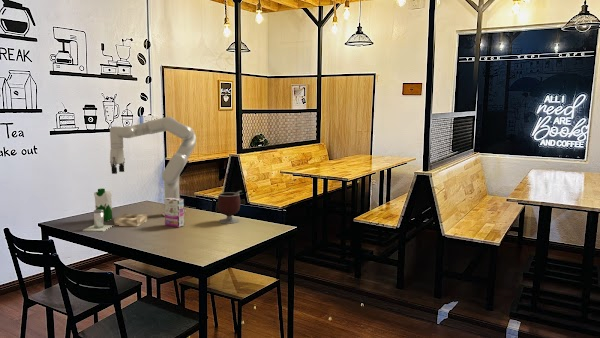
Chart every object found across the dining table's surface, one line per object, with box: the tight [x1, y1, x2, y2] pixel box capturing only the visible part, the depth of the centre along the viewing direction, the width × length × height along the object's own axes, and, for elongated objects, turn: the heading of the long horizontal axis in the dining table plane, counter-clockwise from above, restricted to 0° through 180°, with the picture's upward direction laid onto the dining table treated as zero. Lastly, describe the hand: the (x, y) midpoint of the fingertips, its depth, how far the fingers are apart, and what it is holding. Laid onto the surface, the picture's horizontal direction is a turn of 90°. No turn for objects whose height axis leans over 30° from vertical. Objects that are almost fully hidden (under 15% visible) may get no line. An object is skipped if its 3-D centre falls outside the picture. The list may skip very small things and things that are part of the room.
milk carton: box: [93, 187, 114, 222], centre depth 279 cm, size 9×9×20 cm
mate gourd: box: [217, 190, 242, 225], centre depth 278 cm, size 16×14×20 cm
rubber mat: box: [82, 224, 115, 232], centre depth 259 cm, size 12×12×1 cm
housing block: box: [113, 213, 148, 227], centre depth 272 cm, size 14×14×4 cm
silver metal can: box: [93, 209, 105, 228], centre depth 259 cm, size 5×5×10 cm
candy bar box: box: [163, 197, 185, 228], centre depth 266 cm, size 11×5×16 cm, turn 62°
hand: (118, 172), depth 288 cm, fingers open, 9 cm apart
